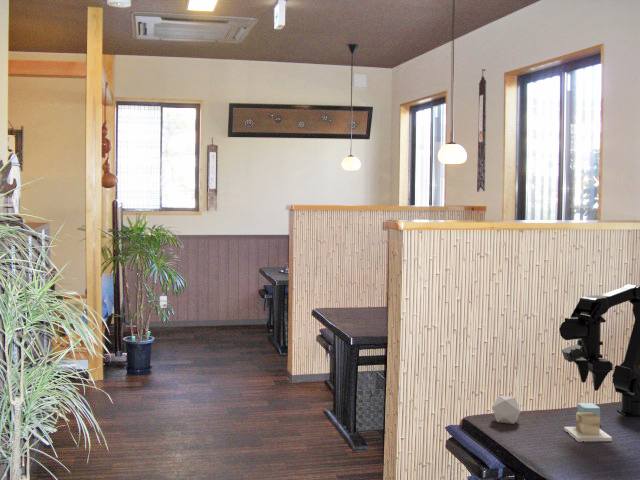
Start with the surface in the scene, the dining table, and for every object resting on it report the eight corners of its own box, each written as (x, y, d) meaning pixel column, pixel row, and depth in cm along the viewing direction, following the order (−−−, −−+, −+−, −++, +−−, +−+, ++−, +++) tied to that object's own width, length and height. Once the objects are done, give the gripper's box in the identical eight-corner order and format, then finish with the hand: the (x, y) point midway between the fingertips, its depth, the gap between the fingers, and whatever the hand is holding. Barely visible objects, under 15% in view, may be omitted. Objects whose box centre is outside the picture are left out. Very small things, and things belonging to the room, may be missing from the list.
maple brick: (575, 428, 210) (576, 412, 210) (592, 428, 210) (592, 412, 210) (582, 434, 205) (583, 417, 205) (599, 434, 205) (599, 417, 205)
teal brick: (577, 418, 223) (577, 403, 223) (593, 418, 223) (593, 403, 223) (584, 424, 218) (584, 408, 218) (599, 423, 218) (600, 408, 218)
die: (523, 421, 222) (508, 393, 227) (528, 415, 215) (512, 387, 219) (499, 431, 222) (485, 403, 226) (503, 426, 214) (489, 397, 218)
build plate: (564, 430, 212) (564, 426, 212) (596, 429, 213) (596, 425, 213) (578, 441, 202) (578, 437, 202) (611, 440, 203) (612, 436, 203)
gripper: (553, 331, 228) (553, 379, 229) (577, 344, 209) (576, 395, 210) (587, 331, 228) (586, 378, 229) (614, 343, 210) (613, 394, 211)
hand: (589, 386), depth 220 cm, fingers open, 9 cm apart
